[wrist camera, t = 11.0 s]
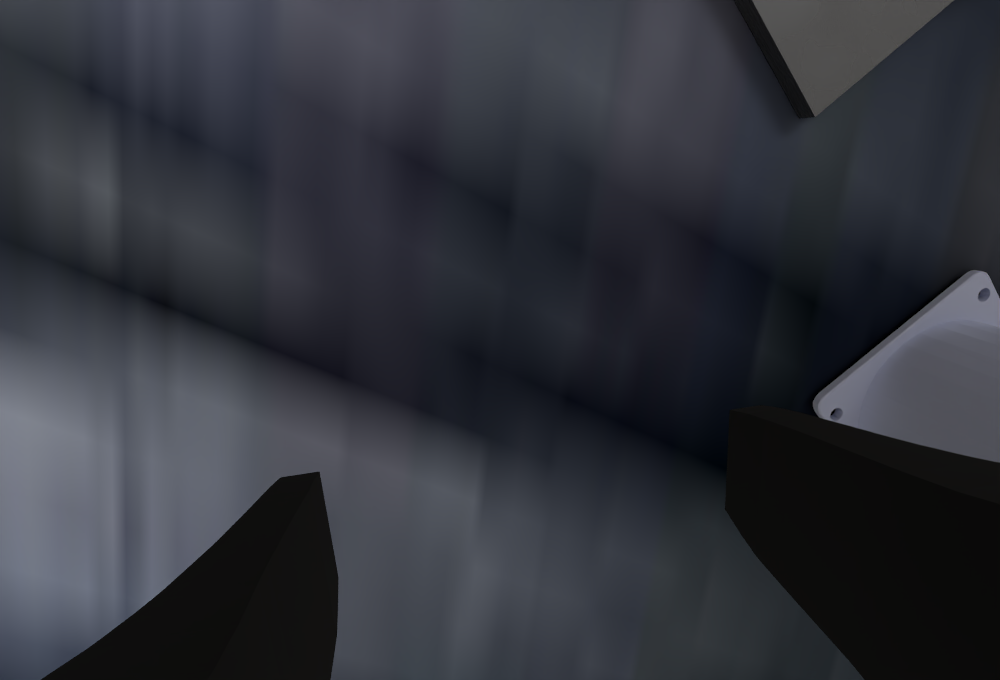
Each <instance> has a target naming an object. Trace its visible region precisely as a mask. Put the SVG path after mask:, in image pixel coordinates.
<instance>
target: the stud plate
mask: <svg viewBox="0 0 1000 680" xmlns="http://www.w3.org/2000/svg"><path fill="white" fill-rule="evenodd" d="M734 1H735V3H736V5H737V6H738V8H739V10H740V12H741V14H742V15H743V17H744V19H745V21H746V23H747V25H748V26H749V28H750V30H751V32H752V34H753V35H754V37H755V39H756V41H757V43H758V44H759V46H760V48H761V50H762V52H763V54H764V55H765V57H766V59H767V61H768V63H769V64H770V66H771V68H772V70H773V72H774V74H775V75H776V77H777V79H778V81H779V83H780V84H781V86H782V88H783V90H784V92H785V93H786V95H787V97H788V99H789V101H790V103H791V104H792V106H793V108H794V110H795V112H796V113H797V115H798V117H799V118H809V117H816V116H817V115H818V114H819V113H821V112H822V111H823V110H824V109H825V108H827V107H828V106H829V105H830V104H831V103H832V102H834V101H835V100H836V99H837V98H838V97H840V96H841V95H842V94H843V93H844V92H846V91H847V90H848V89H849V88H850V87H851V86H853V85H854V84H855V83H856V82H857V81H859V80H860V79H861V78H862V77H863V76H865V75H866V74H867V73H868V72H869V71H871V70H872V69H873V68H874V67H875V66H876V65H878V64H879V63H880V62H881V61H882V60H884V59H885V58H886V57H887V56H888V55H890V54H891V53H892V52H893V51H894V50H895V49H897V48H898V47H899V46H900V45H901V44H903V43H904V42H905V41H906V40H907V39H909V38H910V37H911V36H912V35H913V34H914V33H916V32H917V31H918V30H919V29H920V28H922V27H923V26H924V25H925V24H926V23H928V22H929V21H930V20H931V19H932V18H933V17H935V16H936V15H937V14H938V13H939V12H941V11H942V10H943V9H944V8H945V7H947V6H948V5H949V4H950V3H951V2H952V1H954V0H734Z"/></svg>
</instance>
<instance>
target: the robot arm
mask: <svg viewBox="0 0 1000 680" xmlns="http://www.w3.org/2000/svg"><path fill="white" fill-rule="evenodd" d="M980 291H981V292H980ZM979 292H980V295H979V296H978V294H979ZM813 408H814V411H815V412H816V414H817V415H818V417H815V416H811V415H807V414H803V413H799V412H795V411H791V410H786V409H782V408H776V407H770V406H763V405H760V406H753V407H747V408H740V409H733V410H730V416H729V438H728V459H727V480H726V501H725V510H726V511H727V513H728V514H729V516H730V518H731V519H732V521H733V522H734V524H735V526H736V527H737V529H738V530H739V532H740V533H741V535H742V536H743V538H744V539H745V541H746V542H747V544H748V545H749V546H750V548H751V549H752V551H753V552H754V554H755V555H756V556H757V557H758V559H759V560H760V561H761V562H762V563H763V564H764V566H765V567H766V568H767V569H768V570H769V571H770V573H771V574H772V575H773V576H774V577H775V578H776V579H777V580H778V582H779V583H780V584H781V585H782V586H783V587H784V588H785V590H786V591H787V592H788V593H789V594H790V595H791V596H792V597H793V599H794V600H795V601H796V602H797V603H798V604H799V605H800V606H801V607H802V609H803V610H804V611H805V612H806V613H807V614H808V615H809V616H810V618H811V619H812V620H813V621H814V622H815V623H816V624H817V625H818V626H819V628H820V629H821V630H822V631H823V632H824V633H825V634H826V635H827V636H828V638H829V639H830V640H831V641H832V642H833V643H834V644H835V645H836V647H837V648H838V649H839V650H840V651H841V652H842V653H843V654H844V655H845V657H846V658H847V659H848V660H849V661H850V662H851V664H852V665H853V666H854V667H855V668H856V670H857V671H858V672H859V673H860V674H861V676H862V677H863V678H864V679H865V680H1000V298H999V296H998V294H997V292H996V290H995V288H994V286H993V283H992V281H991V279H990V277H989V275H988V274H987V273H986V272H983V271H978V270H971V271H969V272H967V273H966V274H964V275H963V276H962V277H961V278H960V279H958V280H957V281H956V282H955V283H953V284H952V285H951V286H950V287H948V288H947V289H946V290H945V291H944V292H942V293H941V294H940V295H939V296H937V297H936V298H935V299H934V300H932V301H931V302H930V303H929V304H928V305H926V306H925V307H924V308H923V309H921V310H920V311H919V312H918V313H917V314H915V315H914V316H913V317H912V318H910V319H909V320H908V321H907V322H905V323H904V324H903V325H902V326H901V327H899V328H898V329H897V330H896V331H894V332H893V333H892V334H891V335H889V336H888V337H887V338H886V339H885V340H883V341H882V342H881V343H880V344H878V345H877V346H876V347H875V348H874V349H872V350H871V351H870V352H869V353H867V354H866V355H865V356H864V357H862V358H861V359H860V360H859V361H858V362H856V363H855V364H854V365H853V366H851V367H850V368H849V369H848V370H846V371H845V372H844V373H843V374H842V375H840V376H839V377H838V378H837V379H835V380H834V381H833V382H832V383H831V384H829V385H828V386H827V387H826V388H824V389H823V390H822V391H821V392H819V393H818V394H817V396H816V397H815V399H814V401H813ZM834 409H836V410H835V412H834V414H833V415H831V412H832V411H833V410H834ZM830 415H831V416H830ZM337 617H338V573H337V567H336V562H335V556H334V550H333V545H332V539H331V534H330V528H329V523H328V517H327V511H326V506H325V500H324V495H323V489H322V483H321V478H320V472H314V473H307V474H301V475H294V476H287V477H281V478H280V479H278V480H277V481H276V482H275V483H274V484H273V485H272V486H271V487H270V488H269V489H268V490H267V491H266V492H265V493H264V494H263V495H262V496H261V497H260V498H259V499H258V500H257V501H256V502H255V503H254V504H253V505H252V506H251V507H250V509H249V510H248V511H247V512H246V513H245V514H244V515H243V516H242V517H241V518H240V519H239V520H238V521H237V522H236V523H235V524H234V525H233V526H232V527H231V528H230V529H229V530H228V531H227V532H226V533H225V534H224V535H223V536H222V537H221V538H220V539H219V540H218V541H217V542H216V543H215V544H214V545H213V546H212V547H210V548H209V549H208V550H207V551H206V552H205V553H204V554H203V555H202V556H200V557H199V558H198V559H197V560H196V561H195V562H194V563H193V564H192V565H191V566H189V567H188V568H187V569H186V570H185V571H184V572H183V573H182V574H181V575H179V576H178V577H177V578H176V579H175V580H174V581H173V582H172V583H171V584H170V585H168V586H167V587H166V588H165V589H164V590H163V591H162V592H160V593H159V594H158V595H157V596H156V597H154V598H153V599H152V600H151V601H149V602H148V603H147V604H146V605H145V606H143V607H142V608H141V609H140V610H138V611H137V612H136V613H135V614H133V615H132V616H131V617H129V618H128V619H127V620H125V621H124V622H123V623H121V624H120V625H119V626H117V627H116V628H115V629H113V630H112V631H111V632H109V633H108V634H107V635H105V636H104V637H103V638H101V639H100V640H99V641H97V642H96V643H95V644H93V645H92V646H90V647H89V648H88V649H86V650H85V651H83V652H82V653H80V654H79V655H77V656H76V657H74V658H73V659H71V660H70V661H68V662H67V663H65V664H64V665H62V666H61V667H59V668H58V669H56V670H55V671H53V672H52V673H50V674H49V675H47V676H46V677H44V678H43V679H41V680H330V678H331V672H332V665H333V658H334V652H335V645H336V637H337Z"/></svg>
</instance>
